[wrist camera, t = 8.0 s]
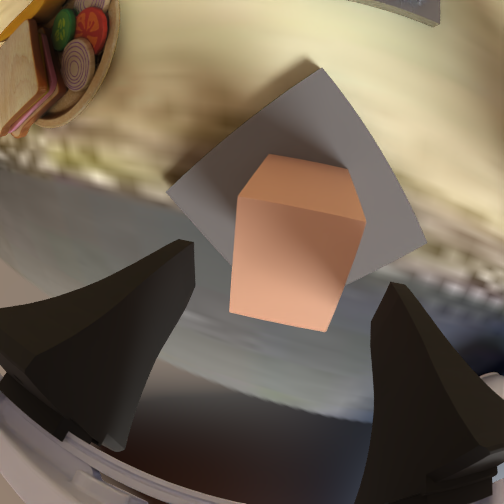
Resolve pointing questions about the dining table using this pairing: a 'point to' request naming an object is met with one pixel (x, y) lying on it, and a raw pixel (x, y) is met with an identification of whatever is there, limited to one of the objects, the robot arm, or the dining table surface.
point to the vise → (410, 9)
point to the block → (294, 242)
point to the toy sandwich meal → (54, 61)
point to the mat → (311, 149)
